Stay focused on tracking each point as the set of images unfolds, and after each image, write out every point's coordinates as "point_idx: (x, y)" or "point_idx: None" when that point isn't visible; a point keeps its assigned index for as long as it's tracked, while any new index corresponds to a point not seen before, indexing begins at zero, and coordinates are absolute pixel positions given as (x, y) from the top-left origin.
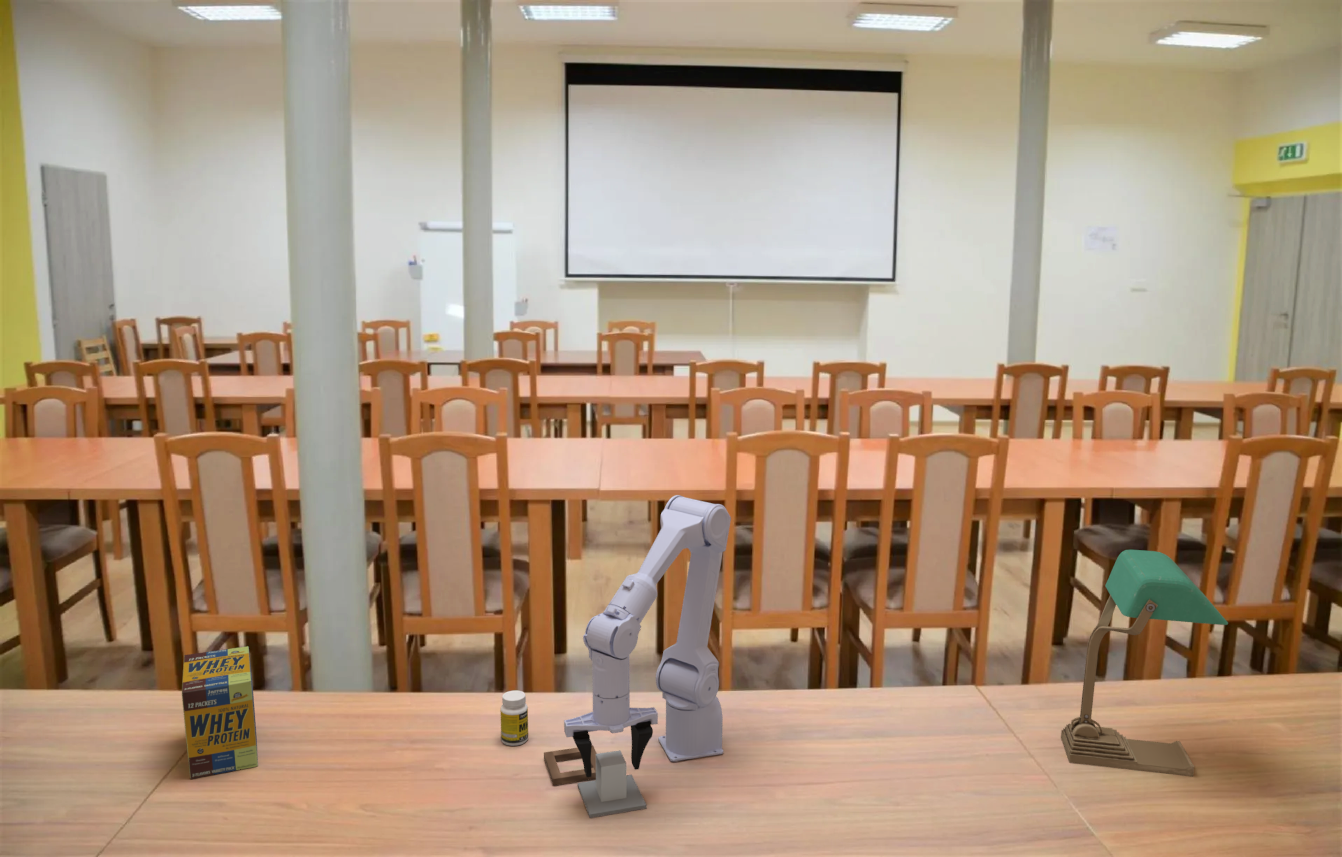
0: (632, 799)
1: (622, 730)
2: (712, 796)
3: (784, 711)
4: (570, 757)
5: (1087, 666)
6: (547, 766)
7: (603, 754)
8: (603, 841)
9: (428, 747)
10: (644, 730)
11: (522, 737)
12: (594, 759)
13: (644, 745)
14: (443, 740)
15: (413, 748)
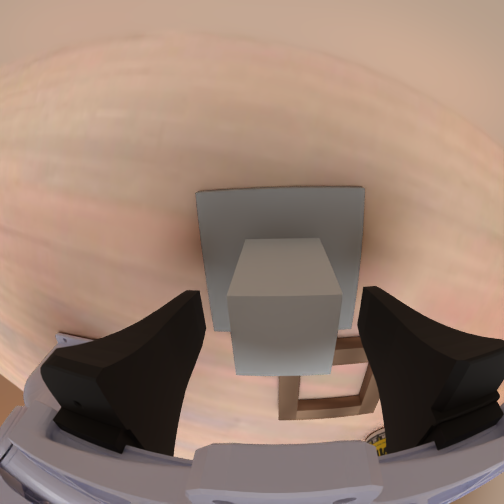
0: (229, 228)
1: (207, 458)
2: (61, 212)
3: (25, 374)
4: (328, 401)
5: None
6: None
7: (304, 367)
8: (344, 76)
9: None
10: (75, 393)
11: (383, 437)
12: (289, 388)
13: (119, 335)
14: None
15: None
